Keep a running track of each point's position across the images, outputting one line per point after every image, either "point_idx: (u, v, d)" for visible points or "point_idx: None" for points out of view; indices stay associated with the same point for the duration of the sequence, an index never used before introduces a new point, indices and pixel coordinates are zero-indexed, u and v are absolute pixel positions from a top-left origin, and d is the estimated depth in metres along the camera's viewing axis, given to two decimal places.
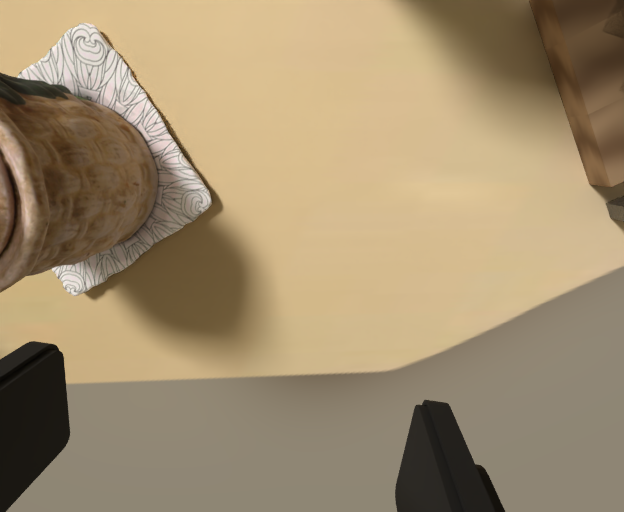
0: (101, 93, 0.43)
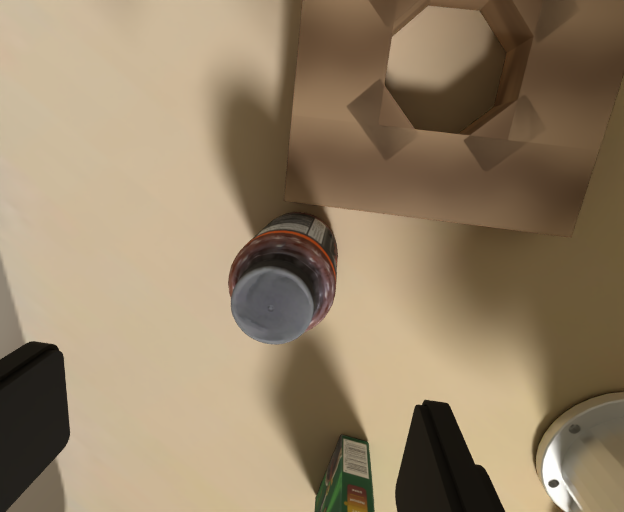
0: None
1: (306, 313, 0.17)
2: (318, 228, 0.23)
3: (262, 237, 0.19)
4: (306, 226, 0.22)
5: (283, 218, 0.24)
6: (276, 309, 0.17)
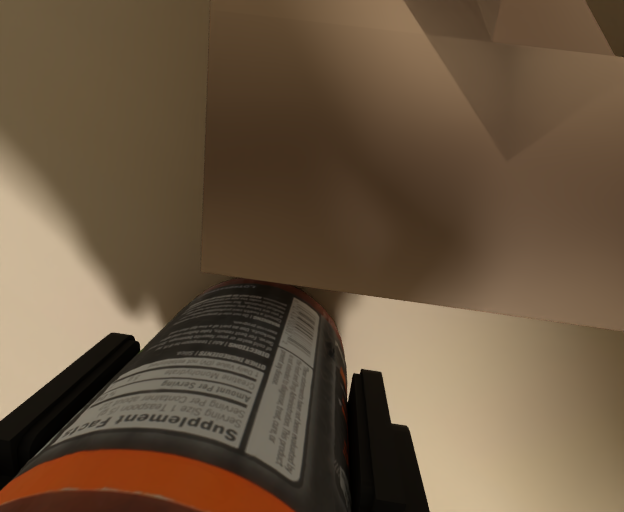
0: None
1: None
2: (297, 351, 0.08)
3: None
4: (256, 366, 0.07)
5: (205, 312, 0.09)
6: None
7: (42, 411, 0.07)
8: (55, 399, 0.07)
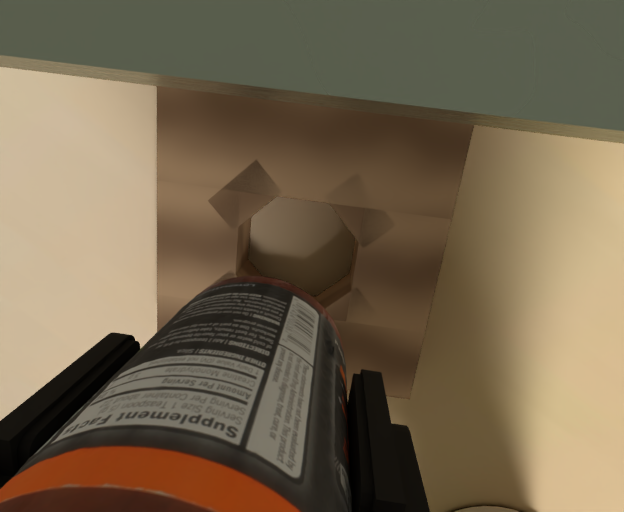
0: None
1: None
2: (297, 349, 0.08)
3: None
4: (257, 364, 0.07)
5: (205, 310, 0.09)
6: None
7: (41, 412, 0.07)
8: (55, 399, 0.07)
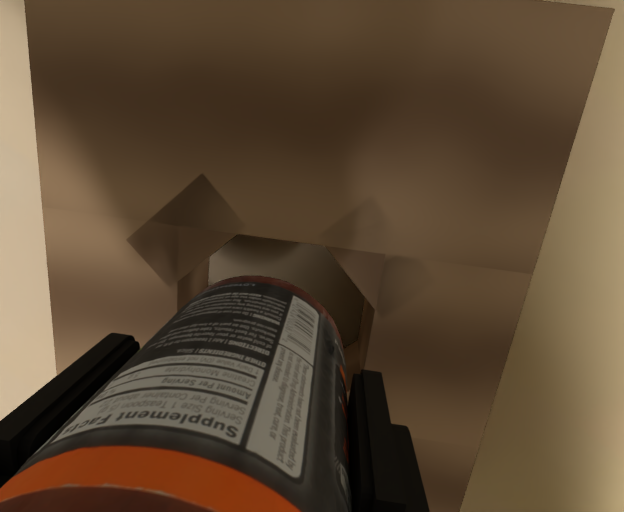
0: None
1: None
2: (297, 348, 0.08)
3: None
4: (257, 364, 0.07)
5: (205, 310, 0.09)
6: None
7: (42, 411, 0.07)
8: (55, 399, 0.07)
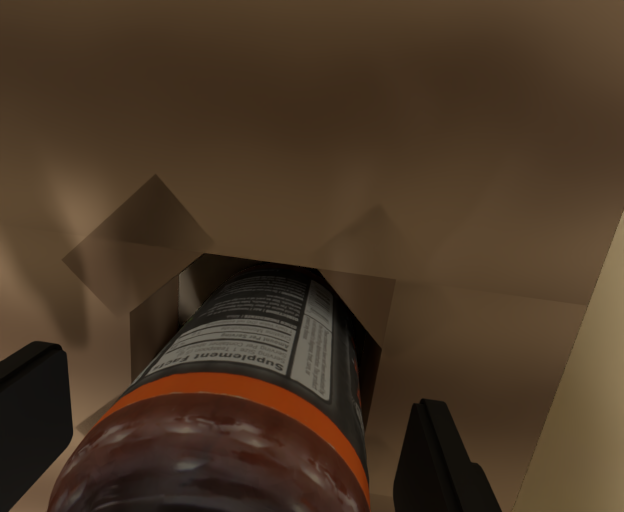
0: None
1: None
2: (319, 318, 0.10)
3: (139, 416, 0.06)
4: (290, 326, 0.09)
5: (241, 288, 0.11)
6: None
7: None
8: None
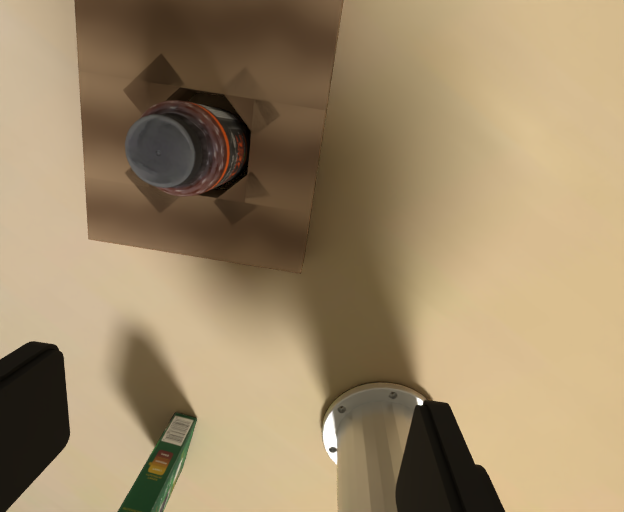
0: None
1: (188, 157, 0.20)
2: (224, 114, 0.26)
3: (160, 102, 0.22)
4: (210, 107, 0.25)
5: None
6: (163, 154, 0.20)
7: None
8: None
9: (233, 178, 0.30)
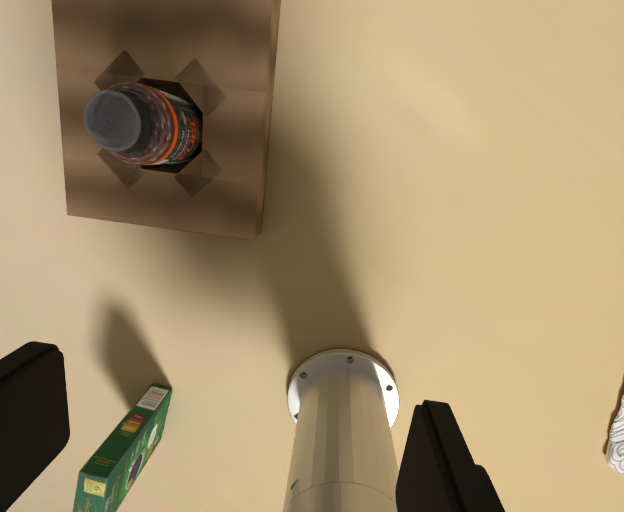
0: None
1: (135, 125, 0.24)
2: (179, 98, 0.31)
3: (116, 84, 0.26)
4: None
5: None
6: (114, 122, 0.24)
7: None
8: None
9: (192, 157, 0.34)
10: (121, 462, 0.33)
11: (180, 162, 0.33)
